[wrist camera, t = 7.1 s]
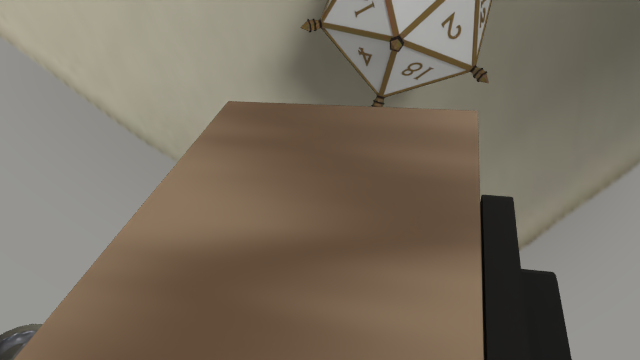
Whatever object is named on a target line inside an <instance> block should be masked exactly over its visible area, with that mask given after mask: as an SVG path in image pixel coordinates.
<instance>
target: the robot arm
mask: <svg viewBox="0 0 640 360" xmlns="http://www.w3.org/2000/svg"><path fill="white" fill-rule="evenodd" d="M480 222H481V266H482V311H483V355H484V360H572V359H571V355H570V348H569V343H568V337H567V332H566V326H565V321H564V315H563V310H562V305H561V299H560V293H559V288H558V282H557V278H556V275H555V274H554V273H553V272H547V271H536V270H526V269H521V266H520V257H519V247H518V238H517V228H516V219H515V210H514V201H513V197H506V196H492V195H482V196H481V202H480ZM42 325H43V324H30V325H25V326H20V327H17V328H14V329H12V330H9V331H7V332H5V333H3V334H1V335H0V360H14V359H15V357H16V356H17V355H18V354H19V353H20V351H21V350H22V349H23V348H24V347H25V345H26V344H27V343H28V342H29V341H30V339H31V338H32V337H33V336H34V335H35V333H36V332H37V331H38V330H39V329H40V327H41V326H42Z"/></svg>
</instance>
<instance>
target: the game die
mask: <svg viewBox="0 0 640 360" xmlns="http://www.w3.org/2000/svg"><path fill="white" fill-rule="evenodd" d="M491 2H492V0H328V1H327V4H326V6H325V9H324V11H323V14H322V16H321V19H320V20H314V19H313V20H309V19H308V20H307V22H306V23H305V24H304V25H303V26H302V27H301V28H302V29H305V30H307V31H309V32H311V31H312V30H314V31H316V30H317V29H318V28H321V29H322V30H323V31H324V32H325V33H326V35H327V36H328V37H329V38H330V39H331V41H332V42H333V43H334V44H335V45H336V47H337V48H338V49H339V50H340V51H341V53H342V54H343V55H344V56H345V57H346V59H347V60H348V61H349V62H350V63H351V64H352V66H353V67H354V68H355V69H356V70H357V72H358V73H359V74H360V75H361V76H362V78H363V79H364V80H365V81H366V82H367V84H368V85H369V86H370V87H371V88H372V90H373V91H374V92H375V93H376V94H377V97H376V99H375V100H373V101H374V103H373V105H371V106H372V107H383V104H385V103H384V98H385V97H388V96H391V95H394V94H398V93H401V92H404V91H408V90H411V89H414V88H418V87H421V86H425V85H428V84H431V83H435V82H438V81H441V80H445V79H448V78H451V77H455V76H458V75H462V74H465V73H468V72H472V74H473V75H474V76H473V77H474V78H476V79H477V81H478V82H479V81H480V82H485V83H488V78H487V74H486V73H487V71H486V72H485V71H483V68H478V67H477V66H476V63H477V59H478V55H479V51H480V47H481V43H482V39H483V35H484V31H485V27H486V23H487V19H488V14H489V10H490V6H491Z"/></svg>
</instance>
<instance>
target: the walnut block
mask: <svg viewBox="0 0 640 360" xmlns="http://www.w3.org/2000/svg"><path fill="white" fill-rule="evenodd" d="M14 360H484V355H483V311H482V266H481V222H480V178H479V133H478V111H471V110H445V109H418V108H392V107H366V106H339V105H313V104H286V103H260V102H234V101H228V102H227V104H226V105H225V106H224V107H223V108H222V110H221V111H220V112H219V113H218V114H217V116H216V117H215V118H214V119H213V120H212V122H211V123H210V124H209V125H208V126H207V128H206V129H205V130H204V131H203V132H202V134H201V135H200V136H199V137H198V138H197V140H196V141H195V142H194V143H193V144H192V146H191V147H190V148H189V149H188V150H187V152H186V153H185V154H184V155H183V156H182V158H181V159H180V160H179V161H178V163H177V164H176V165H175V166H174V167H173V169H172V170H171V171H170V172H169V173H168V175H167V176H166V177H165V178H164V179H163V181H162V182H161V183H160V184H159V185H158V187H157V188H156V189H155V190H154V191H153V193H152V194H151V195H150V196H149V197H148V199H147V200H146V201H145V202H144V203H143V205H142V206H141V207H140V208H139V209H138V211H137V212H136V213H135V214H134V216H133V217H132V218H131V219H130V220H129V222H128V223H127V224H126V225H125V226H124V228H123V229H122V230H121V231H120V232H119V234H118V235H117V236H116V237H115V238H114V240H113V241H112V242H111V243H110V244H109V246H108V247H107V248H106V249H105V250H104V252H103V253H102V254H101V255H100V256H99V258H98V259H97V260H96V261H95V263H94V264H93V265H92V266H91V267H90V268H89V270H88V271H87V272H86V273H85V275H84V276H83V277H82V278H81V279H80V281H79V282H78V283H77V284H76V285H75V286H74V288H73V289H72V290H71V291H70V292H69V294H68V295H67V296H66V298H64V300H63V301H62V302H61V303H60V304H59V306H58V307H57V308H56V309H55V311H54V312H53V313H52V314H51V315H50V317H49V318H48V319H47V320H46V321H45V323H44V324H43V325H42V326H41V327H40V329H39V330H38V331H37V332H36V333H35V335H34V336H33V337H32V338H31V339H30V341H29V342H28V343H27V344H26V345H25V347H24V348H23V349H22V350H21V351H20V353H19V354H18V355H17V356H16V357H15V359H14Z"/></svg>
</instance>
